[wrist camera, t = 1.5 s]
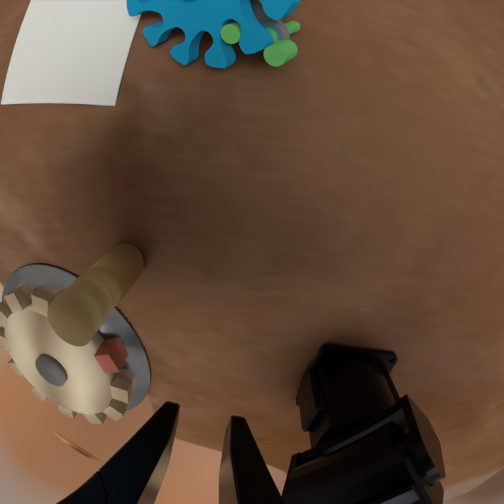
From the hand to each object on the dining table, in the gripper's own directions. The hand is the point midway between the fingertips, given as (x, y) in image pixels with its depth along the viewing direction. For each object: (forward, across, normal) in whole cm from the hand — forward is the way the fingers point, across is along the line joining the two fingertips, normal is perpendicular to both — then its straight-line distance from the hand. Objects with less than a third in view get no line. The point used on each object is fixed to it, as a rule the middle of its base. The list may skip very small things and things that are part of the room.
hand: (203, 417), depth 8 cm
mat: (+11, +14, -15) cm, 23 cm away
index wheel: (+10, +12, +9) cm, 18 cm away
